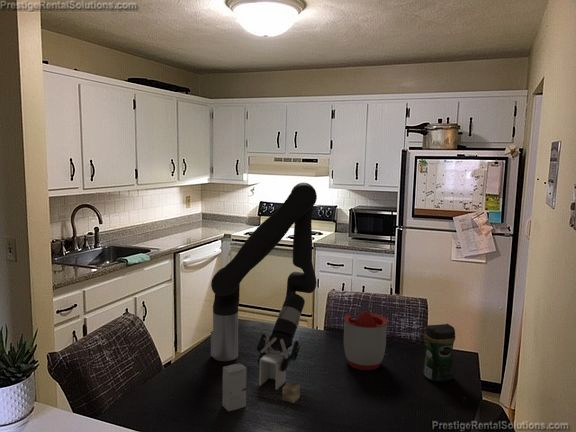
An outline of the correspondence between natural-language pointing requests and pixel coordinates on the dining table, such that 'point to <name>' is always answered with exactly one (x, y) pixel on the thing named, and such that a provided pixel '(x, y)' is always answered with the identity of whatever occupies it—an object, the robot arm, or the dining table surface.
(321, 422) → the dining table surface
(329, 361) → the dining table surface
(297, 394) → the cube
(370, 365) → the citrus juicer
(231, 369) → the skincare box
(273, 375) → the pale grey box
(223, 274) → the robot arm
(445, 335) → the coffee jar
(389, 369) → the dining table surface
